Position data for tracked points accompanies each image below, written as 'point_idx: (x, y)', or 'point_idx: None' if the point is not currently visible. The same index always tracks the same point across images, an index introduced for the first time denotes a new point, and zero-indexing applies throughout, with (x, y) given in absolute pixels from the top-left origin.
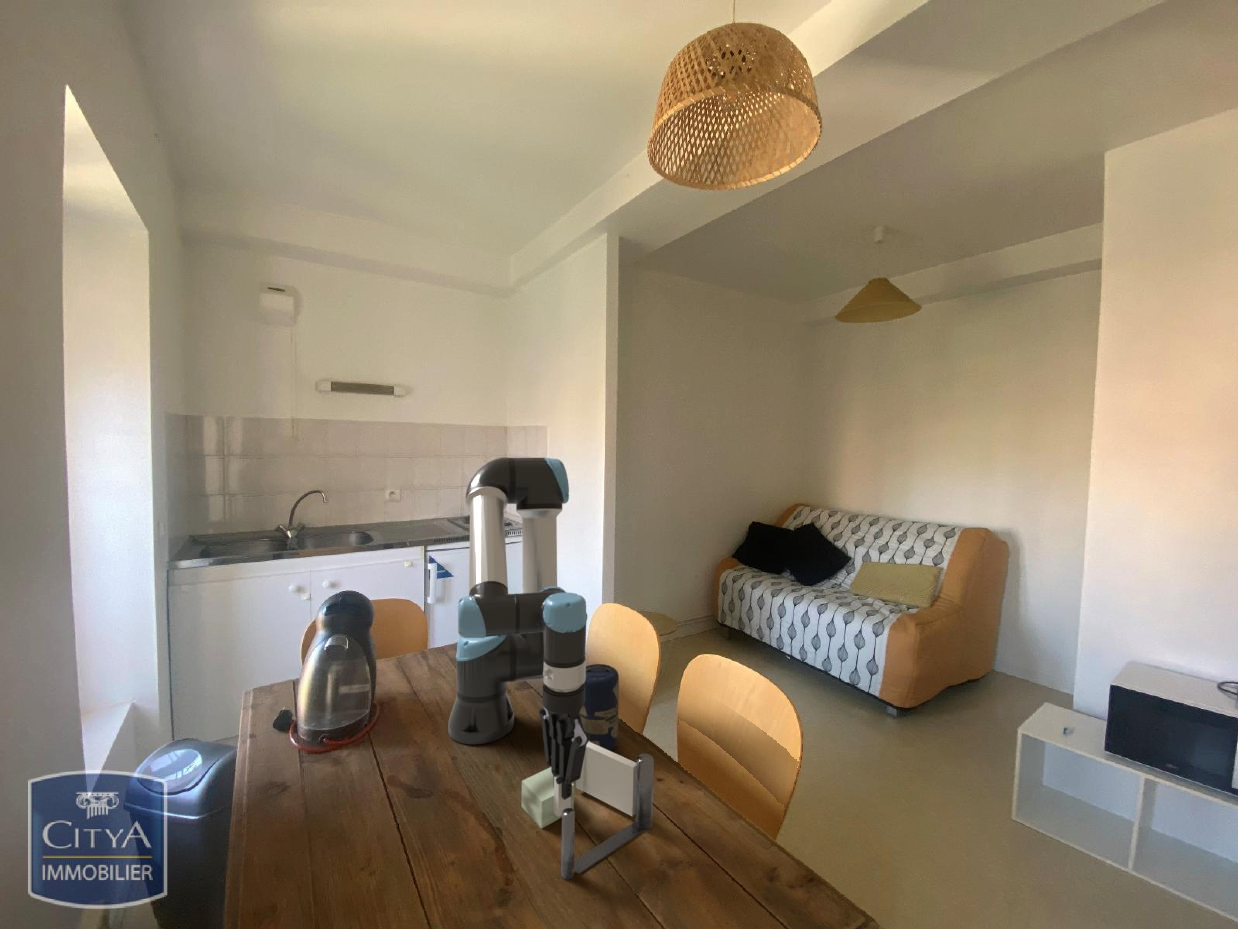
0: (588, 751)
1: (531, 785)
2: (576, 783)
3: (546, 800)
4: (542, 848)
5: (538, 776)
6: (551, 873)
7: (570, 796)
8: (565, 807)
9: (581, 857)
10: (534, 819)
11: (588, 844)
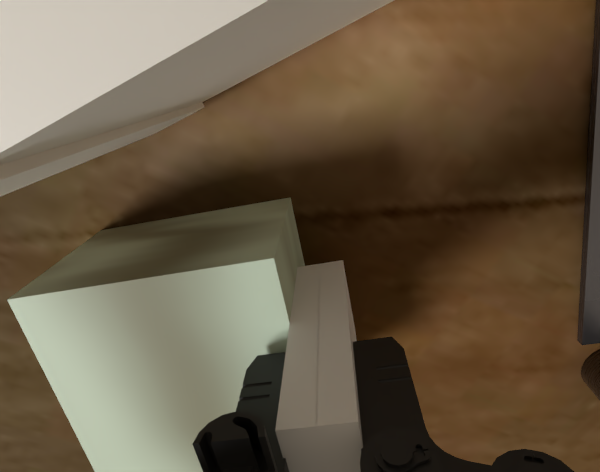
0: (79, 126)
1: (164, 468)
2: (145, 137)
3: None
4: (426, 394)
5: (95, 414)
6: (557, 409)
7: (393, 343)
8: (350, 308)
9: (592, 299)
10: None
11: (536, 231)
